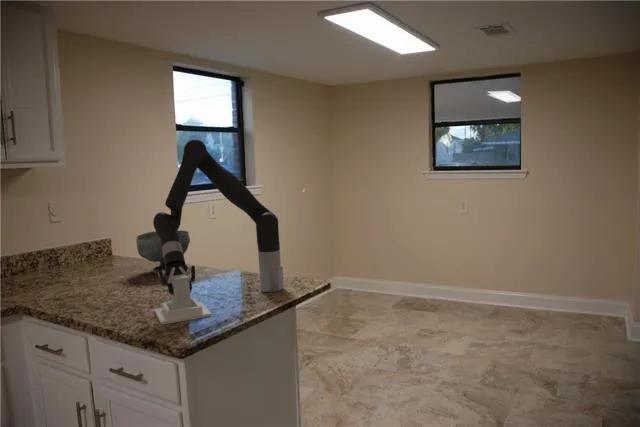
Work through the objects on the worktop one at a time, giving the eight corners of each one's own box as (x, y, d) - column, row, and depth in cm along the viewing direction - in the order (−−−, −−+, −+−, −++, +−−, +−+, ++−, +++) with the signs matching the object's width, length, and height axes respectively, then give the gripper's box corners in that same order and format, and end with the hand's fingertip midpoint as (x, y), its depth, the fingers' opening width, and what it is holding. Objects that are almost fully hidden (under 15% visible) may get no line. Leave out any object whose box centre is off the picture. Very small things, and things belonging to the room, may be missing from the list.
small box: (191, 305, 197) (189, 277, 195) (176, 307, 194) (173, 279, 193) (185, 300, 204) (183, 273, 202) (171, 302, 201) (169, 275, 200)
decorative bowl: (186, 262, 293) (182, 226, 290) (198, 271, 270) (194, 233, 267) (136, 271, 281) (131, 234, 278) (144, 281, 259) (139, 241, 256)
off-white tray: (201, 304, 211) (200, 295, 211) (211, 315, 195) (210, 306, 194) (154, 311, 204) (153, 302, 203) (161, 324, 187) (160, 315, 187)
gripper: (154, 252, 200) (161, 289, 191) (192, 247, 206) (201, 284, 197) (153, 263, 206) (160, 300, 196) (191, 258, 212) (199, 294, 202)
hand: (181, 292), depth 197 cm, fingers closed on small box, 6 cm apart
